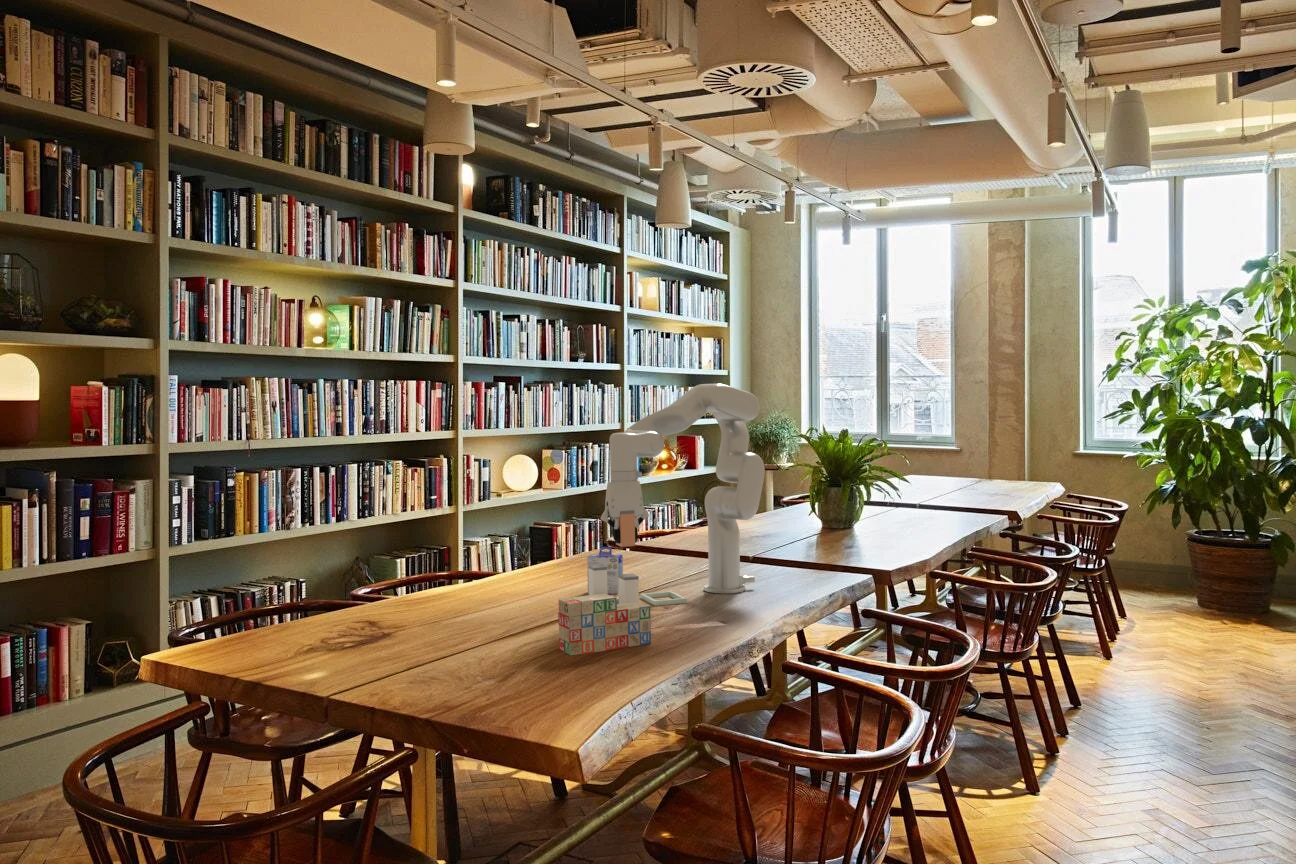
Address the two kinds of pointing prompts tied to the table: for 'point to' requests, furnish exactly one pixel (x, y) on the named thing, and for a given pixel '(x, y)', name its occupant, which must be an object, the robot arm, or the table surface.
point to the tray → (650, 596)
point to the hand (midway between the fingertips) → (625, 541)
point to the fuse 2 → (628, 588)
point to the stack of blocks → (601, 624)
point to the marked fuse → (627, 529)
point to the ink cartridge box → (608, 568)
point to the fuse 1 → (597, 579)
